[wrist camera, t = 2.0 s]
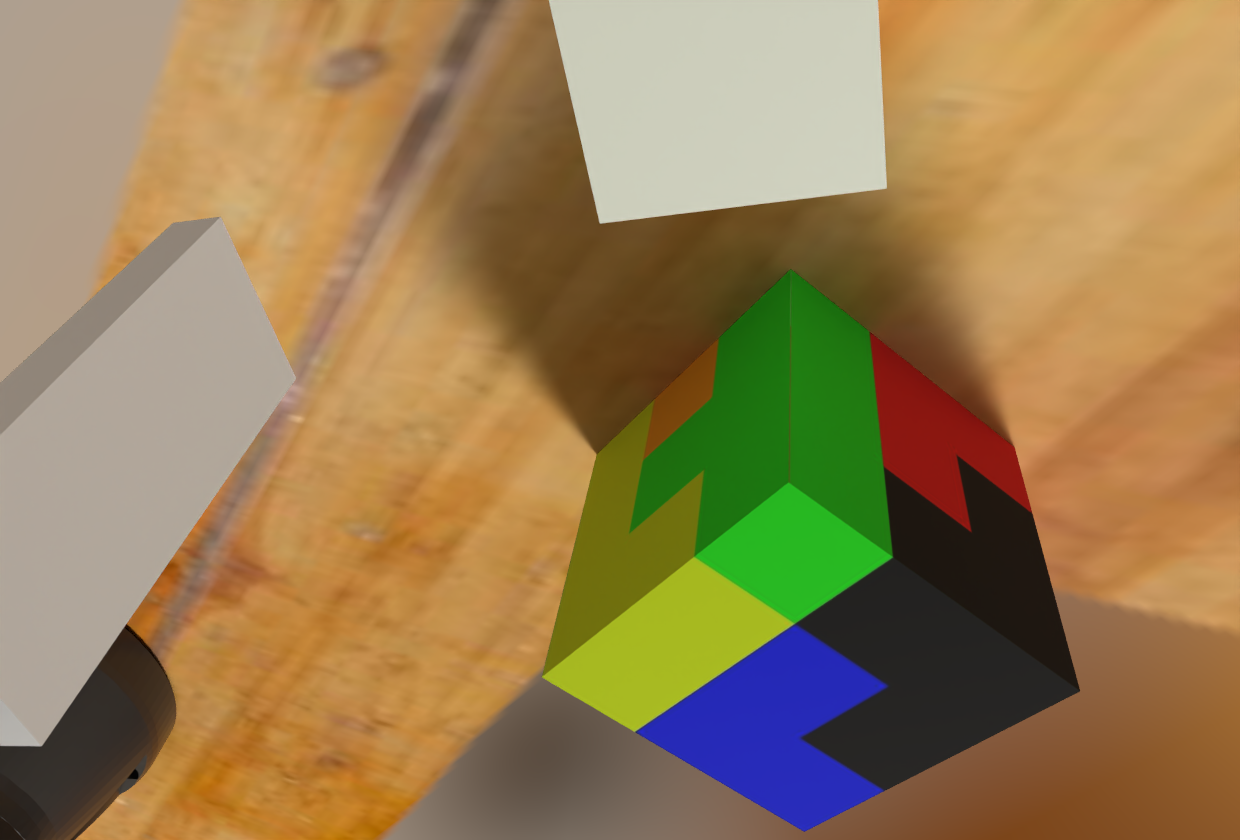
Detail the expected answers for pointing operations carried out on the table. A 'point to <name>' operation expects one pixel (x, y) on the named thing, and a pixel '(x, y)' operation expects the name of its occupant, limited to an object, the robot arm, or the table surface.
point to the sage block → (723, 101)
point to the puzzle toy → (808, 569)
